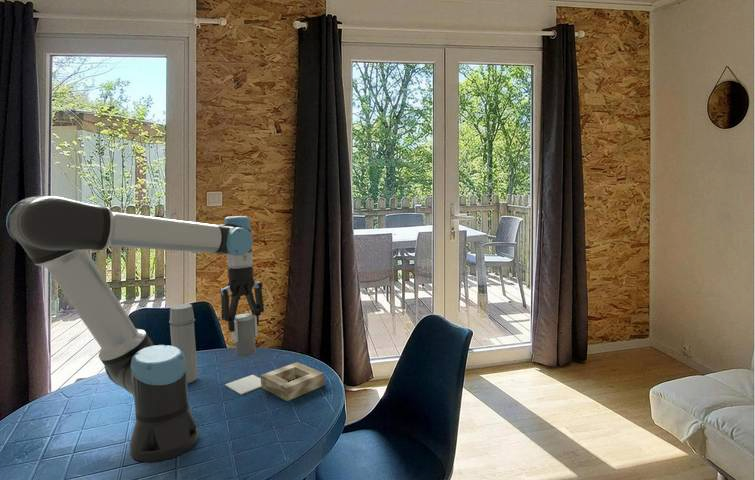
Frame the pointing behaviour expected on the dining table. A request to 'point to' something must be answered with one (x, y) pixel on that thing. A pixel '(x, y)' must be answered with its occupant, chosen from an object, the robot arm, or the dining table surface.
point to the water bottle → (184, 336)
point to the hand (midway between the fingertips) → (244, 338)
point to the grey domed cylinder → (245, 335)
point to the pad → (245, 384)
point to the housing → (302, 384)
